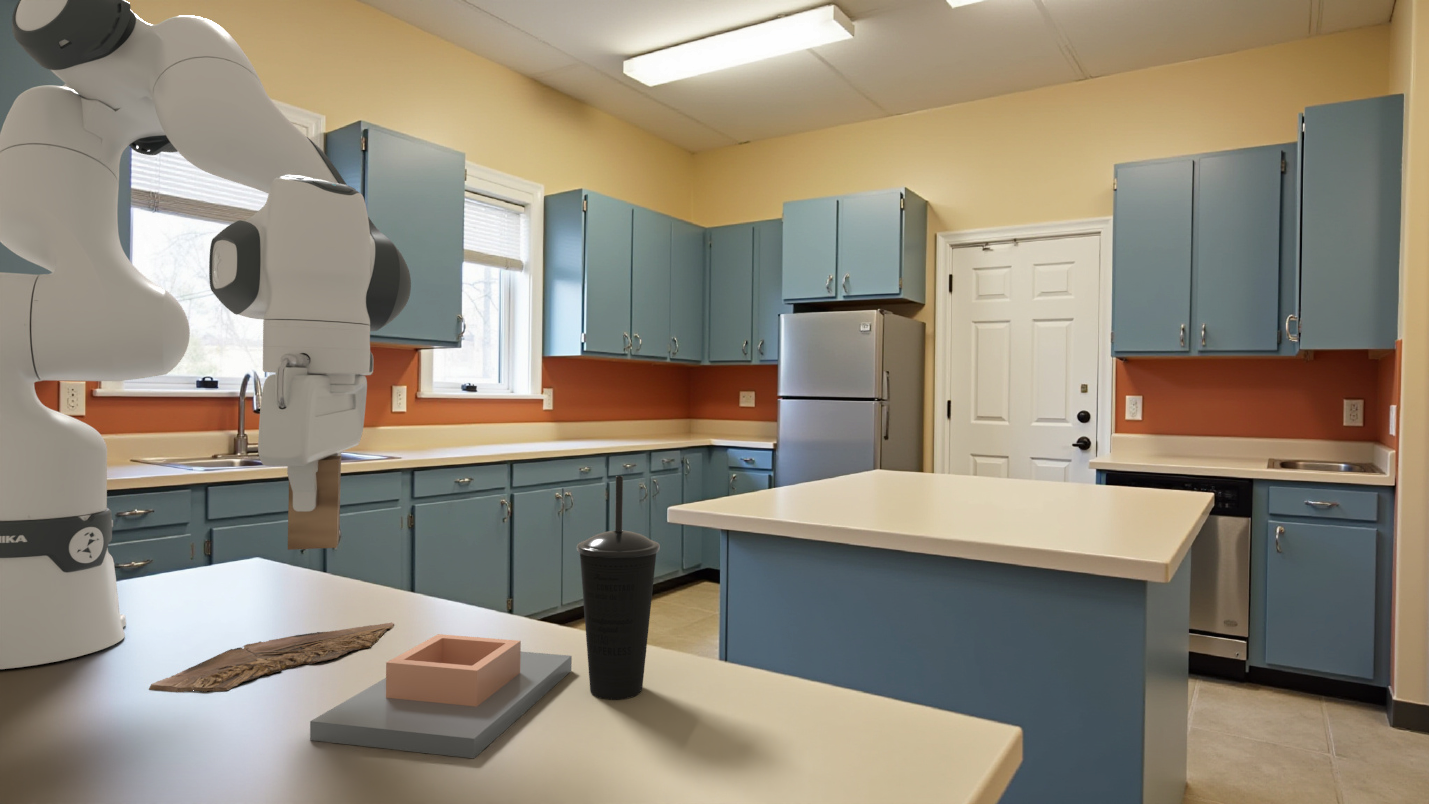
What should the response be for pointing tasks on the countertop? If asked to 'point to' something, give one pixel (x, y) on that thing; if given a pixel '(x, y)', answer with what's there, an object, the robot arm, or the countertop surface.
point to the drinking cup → (617, 605)
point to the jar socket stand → (445, 697)
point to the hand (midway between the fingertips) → (315, 504)
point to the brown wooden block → (318, 511)
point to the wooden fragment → (270, 658)
